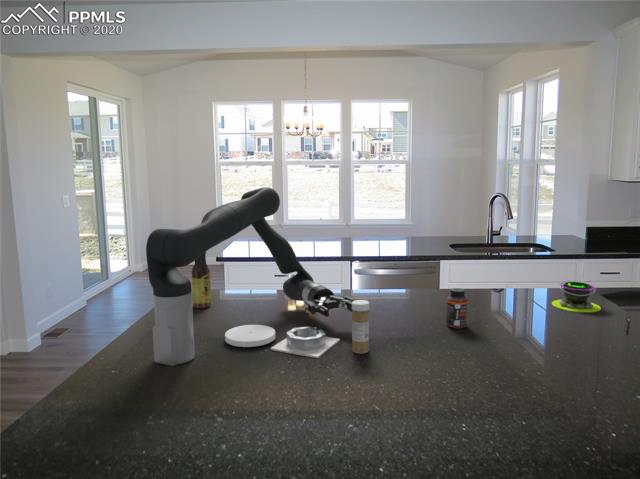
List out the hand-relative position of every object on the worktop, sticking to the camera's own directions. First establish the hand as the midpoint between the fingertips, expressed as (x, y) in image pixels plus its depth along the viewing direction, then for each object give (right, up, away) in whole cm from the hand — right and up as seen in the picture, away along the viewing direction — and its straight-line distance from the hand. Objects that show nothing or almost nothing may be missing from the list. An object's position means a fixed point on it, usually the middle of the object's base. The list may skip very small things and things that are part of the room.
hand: (341, 311), depth 140 cm
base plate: (-10, -9, -4) cm, 14 cm away
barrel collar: (-10, -9, -4) cm, 14 cm away
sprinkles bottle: (+5, -9, -9) cm, 14 cm away
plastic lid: (-26, -9, 0) cm, 27 cm away
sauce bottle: (-47, -3, +33) cm, 58 cm away
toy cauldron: (+82, -3, +30) cm, 87 cm away
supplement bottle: (+35, -6, +10) cm, 37 cm away
